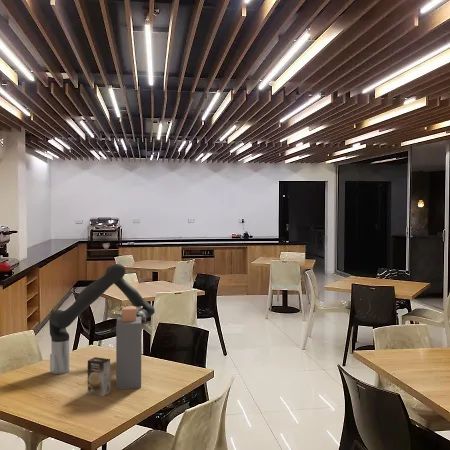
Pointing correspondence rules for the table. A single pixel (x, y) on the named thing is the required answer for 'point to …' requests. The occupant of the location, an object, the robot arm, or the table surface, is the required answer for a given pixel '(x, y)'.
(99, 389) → the coffee box
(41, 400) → the table surface
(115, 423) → the table surface
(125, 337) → the pedestal
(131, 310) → the salmon orange block
